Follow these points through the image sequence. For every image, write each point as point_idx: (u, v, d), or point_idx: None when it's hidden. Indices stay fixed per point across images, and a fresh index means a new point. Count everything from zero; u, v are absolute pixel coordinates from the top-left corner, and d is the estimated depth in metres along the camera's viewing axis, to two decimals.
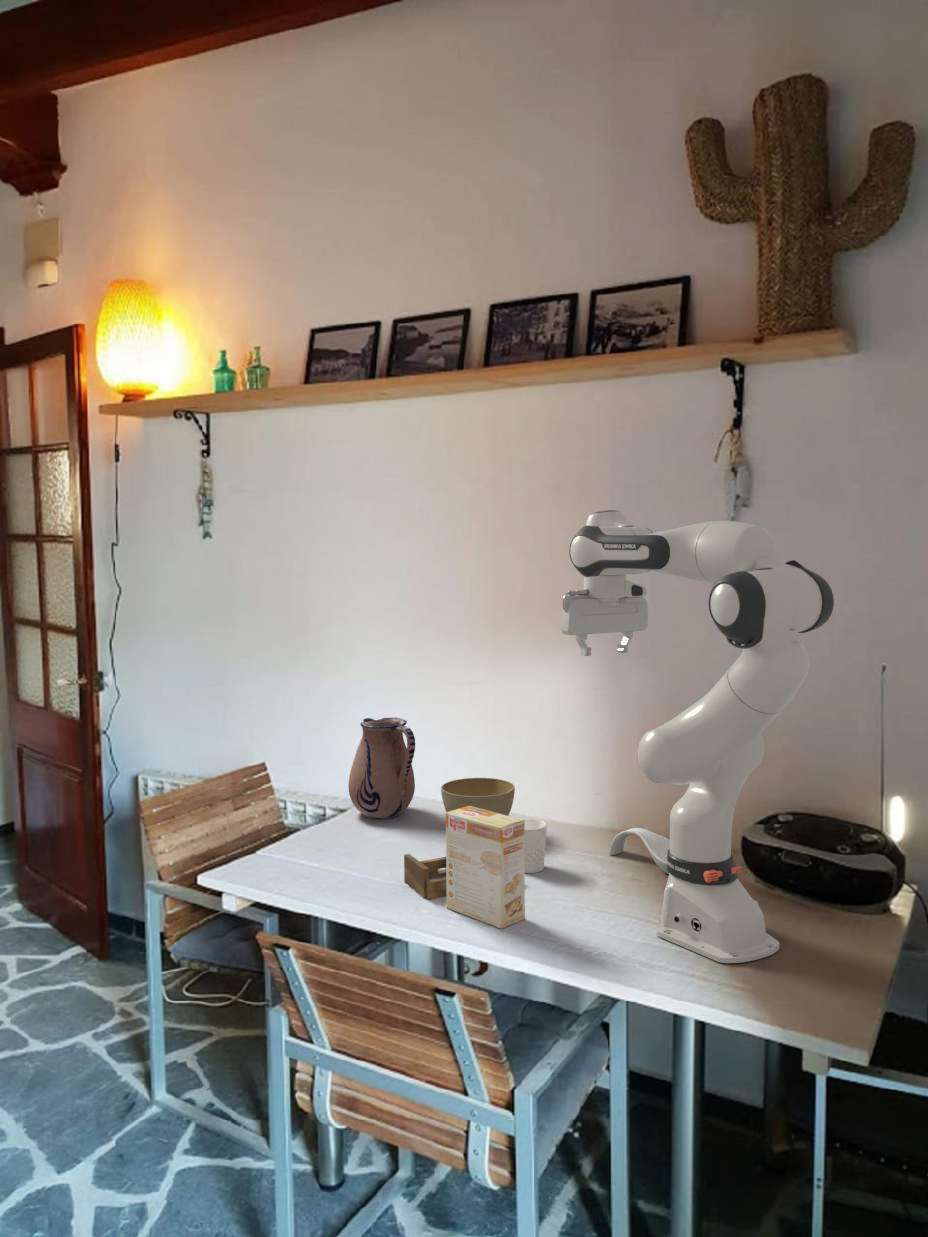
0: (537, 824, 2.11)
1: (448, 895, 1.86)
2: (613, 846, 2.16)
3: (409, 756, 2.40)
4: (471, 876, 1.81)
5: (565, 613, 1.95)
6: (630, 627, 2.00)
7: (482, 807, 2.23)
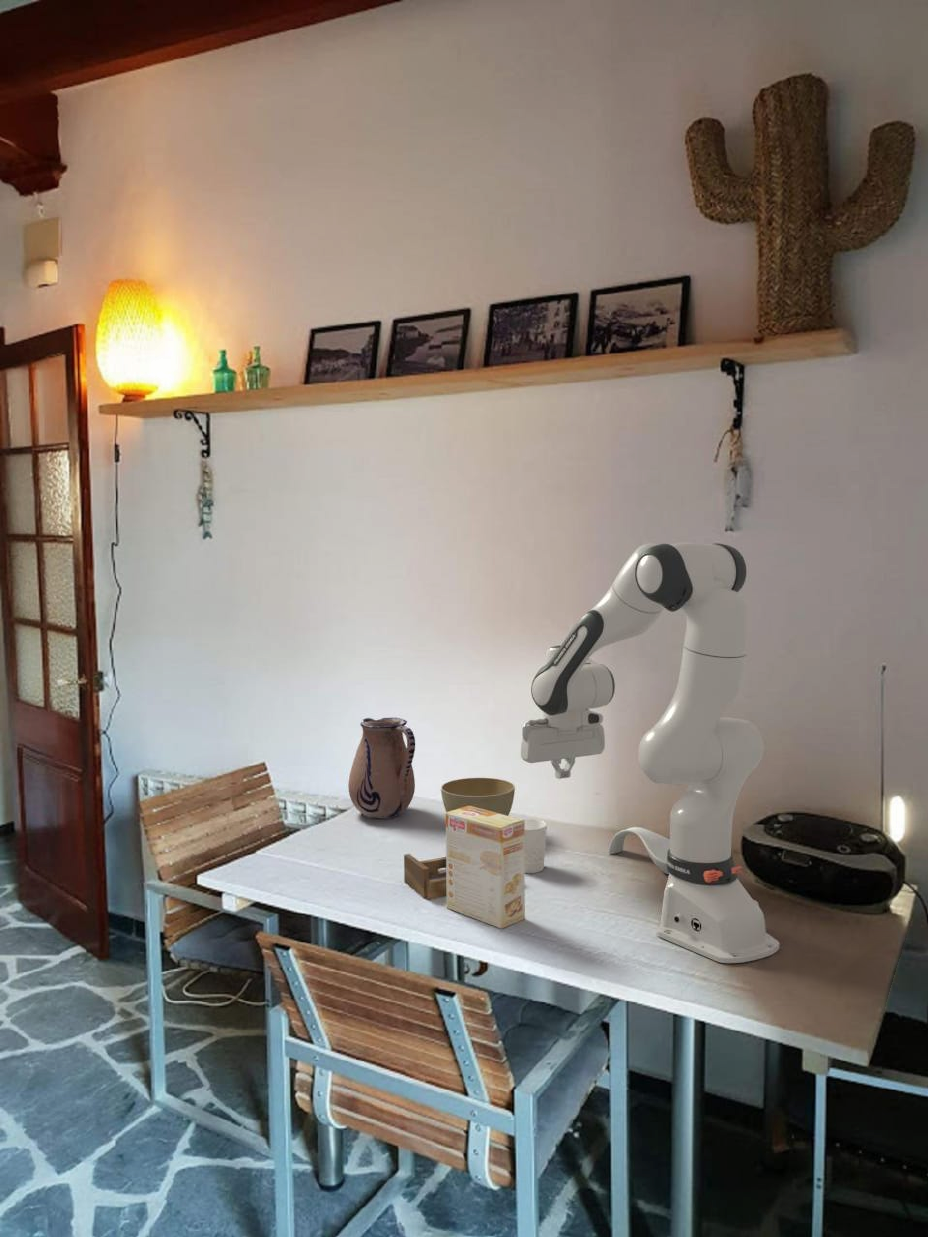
0: (537, 824, 2.11)
1: (448, 895, 1.86)
2: (612, 845, 2.17)
3: (409, 756, 2.40)
4: (471, 876, 1.81)
5: (525, 741, 2.06)
6: (587, 752, 2.11)
7: (482, 807, 2.23)
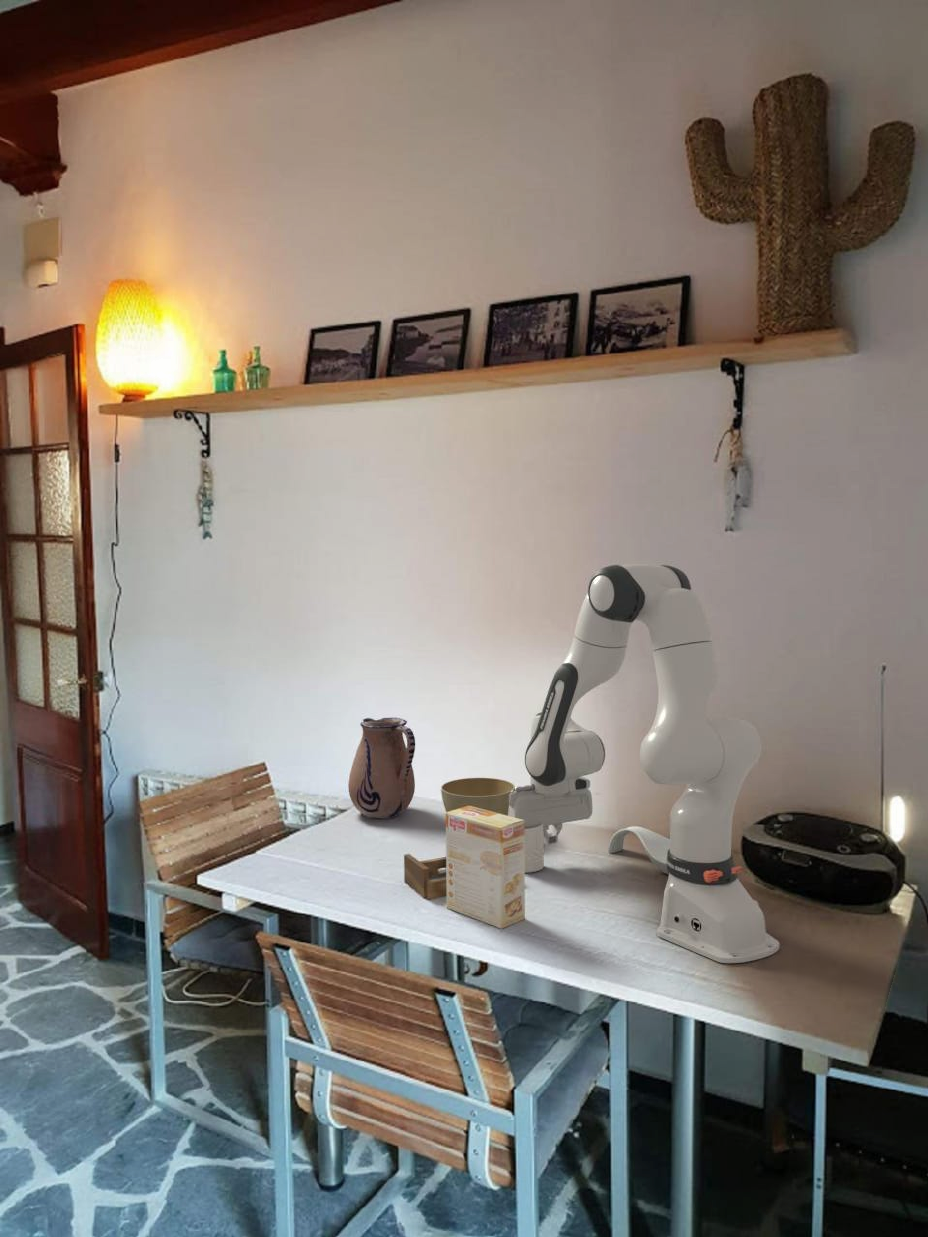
0: None
1: (448, 895, 1.86)
2: (612, 844, 2.17)
3: (409, 756, 2.40)
4: (471, 876, 1.81)
5: (511, 808, 2.06)
6: (575, 817, 2.11)
7: (482, 807, 2.23)
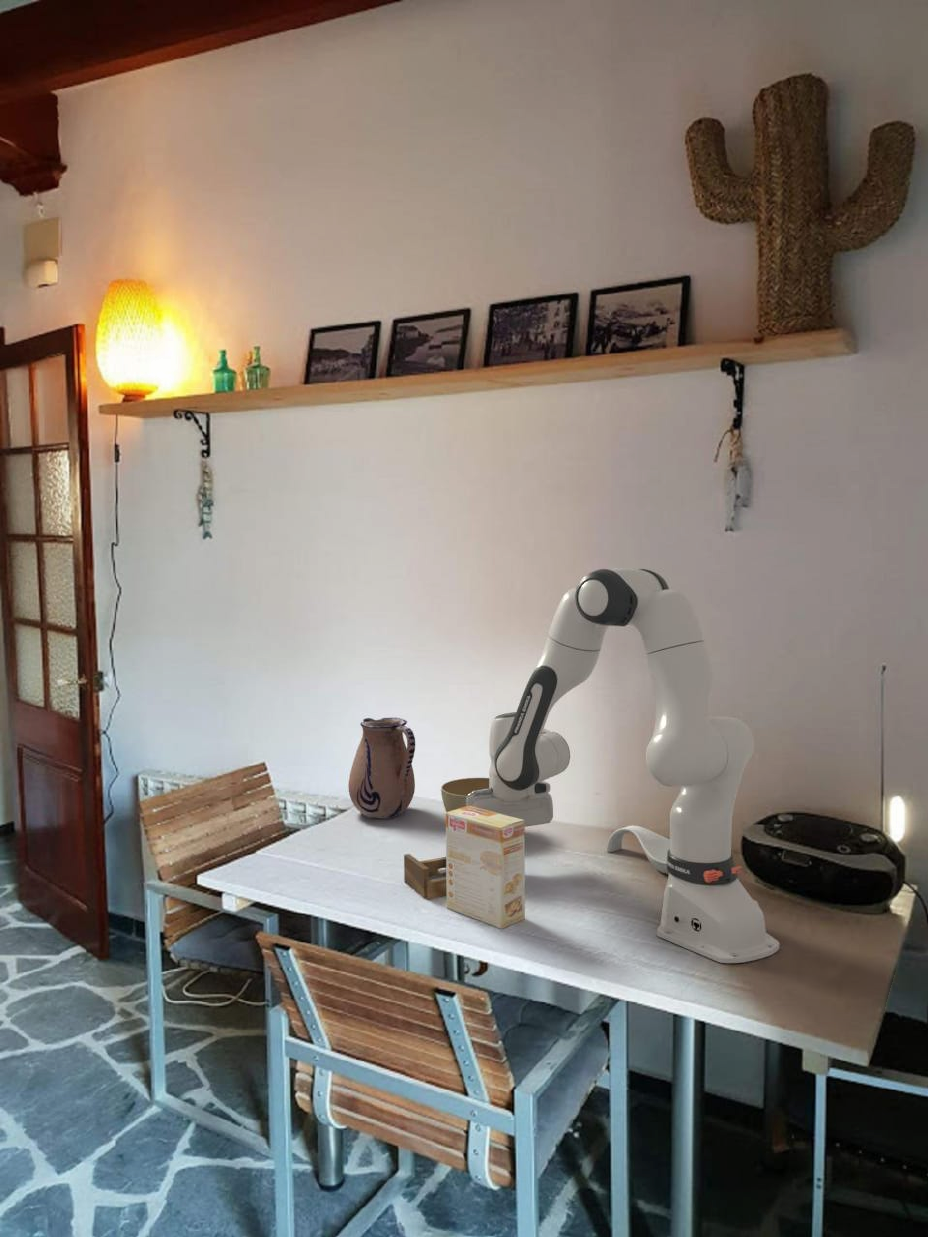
0: None
1: (448, 895, 1.86)
2: (610, 843, 2.18)
3: (409, 756, 2.40)
4: (471, 876, 1.81)
5: None
6: (534, 822, 2.07)
7: None
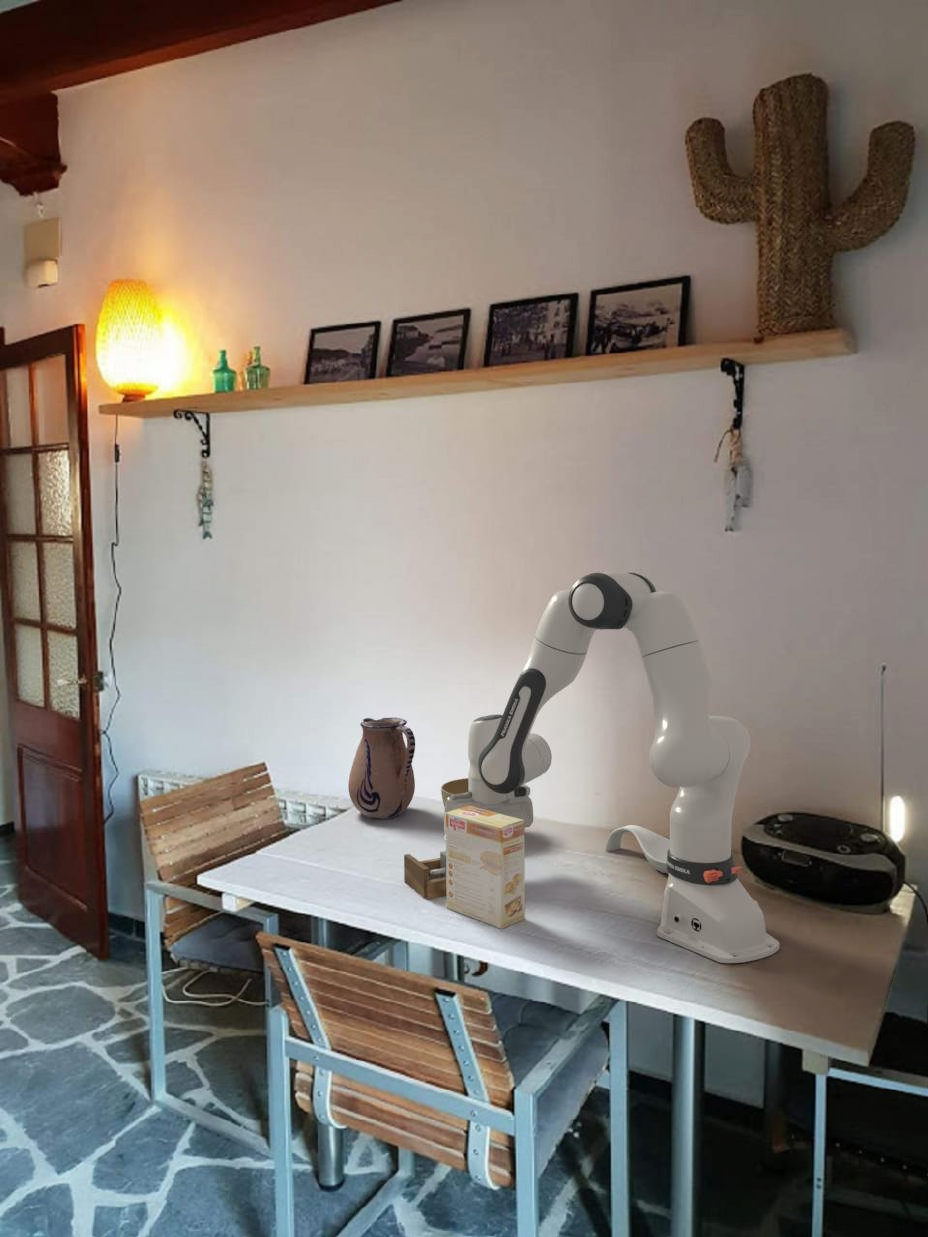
0: None
1: (448, 895, 1.86)
2: (609, 842, 2.18)
3: (409, 756, 2.40)
4: (471, 876, 1.81)
5: None
6: None
7: None
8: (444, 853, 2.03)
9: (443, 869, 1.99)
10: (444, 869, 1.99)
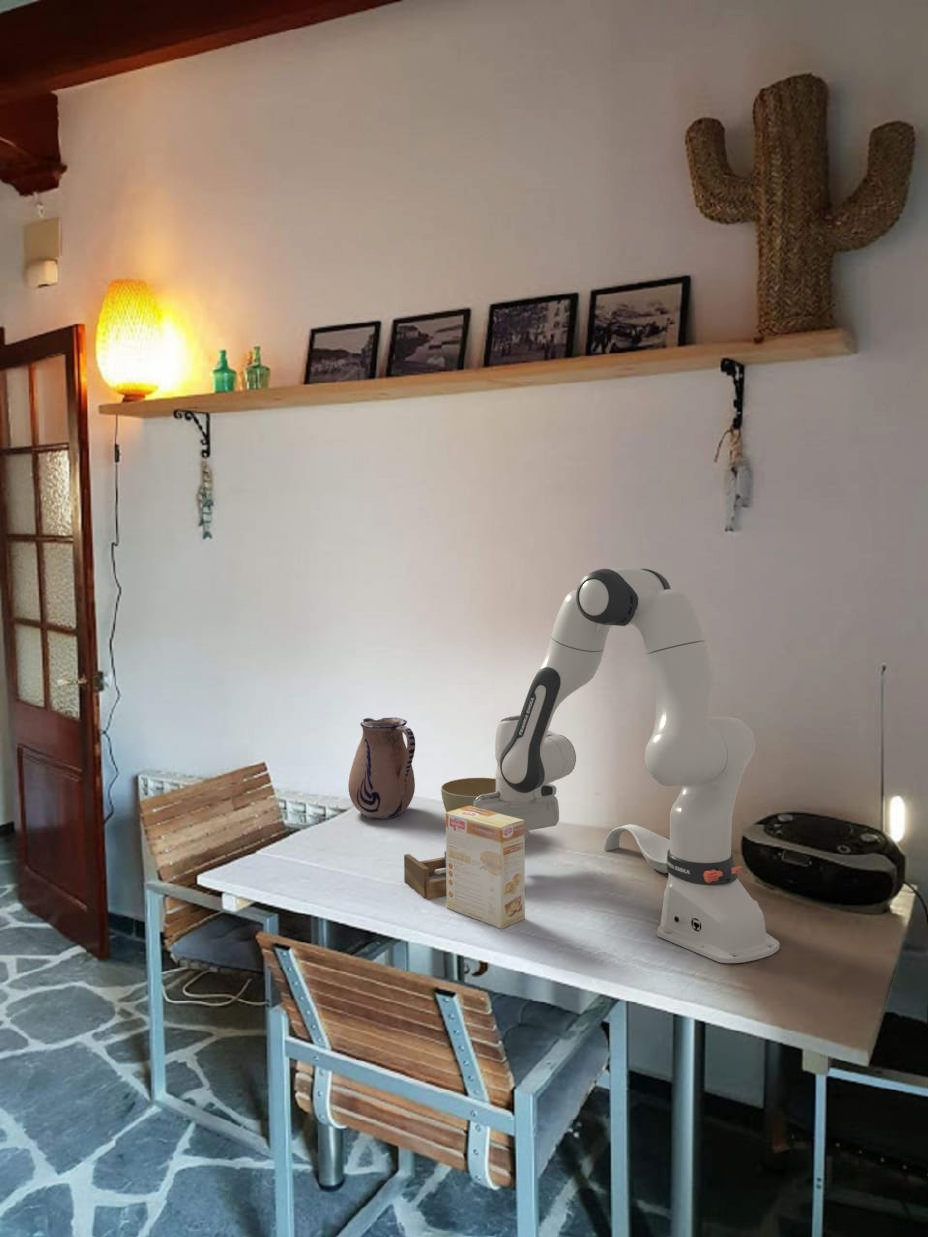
0: None
1: (448, 895, 1.86)
2: (608, 842, 2.19)
3: (409, 756, 2.40)
4: (471, 876, 1.81)
5: None
6: (541, 824, 2.07)
7: None
8: None
9: None
10: None
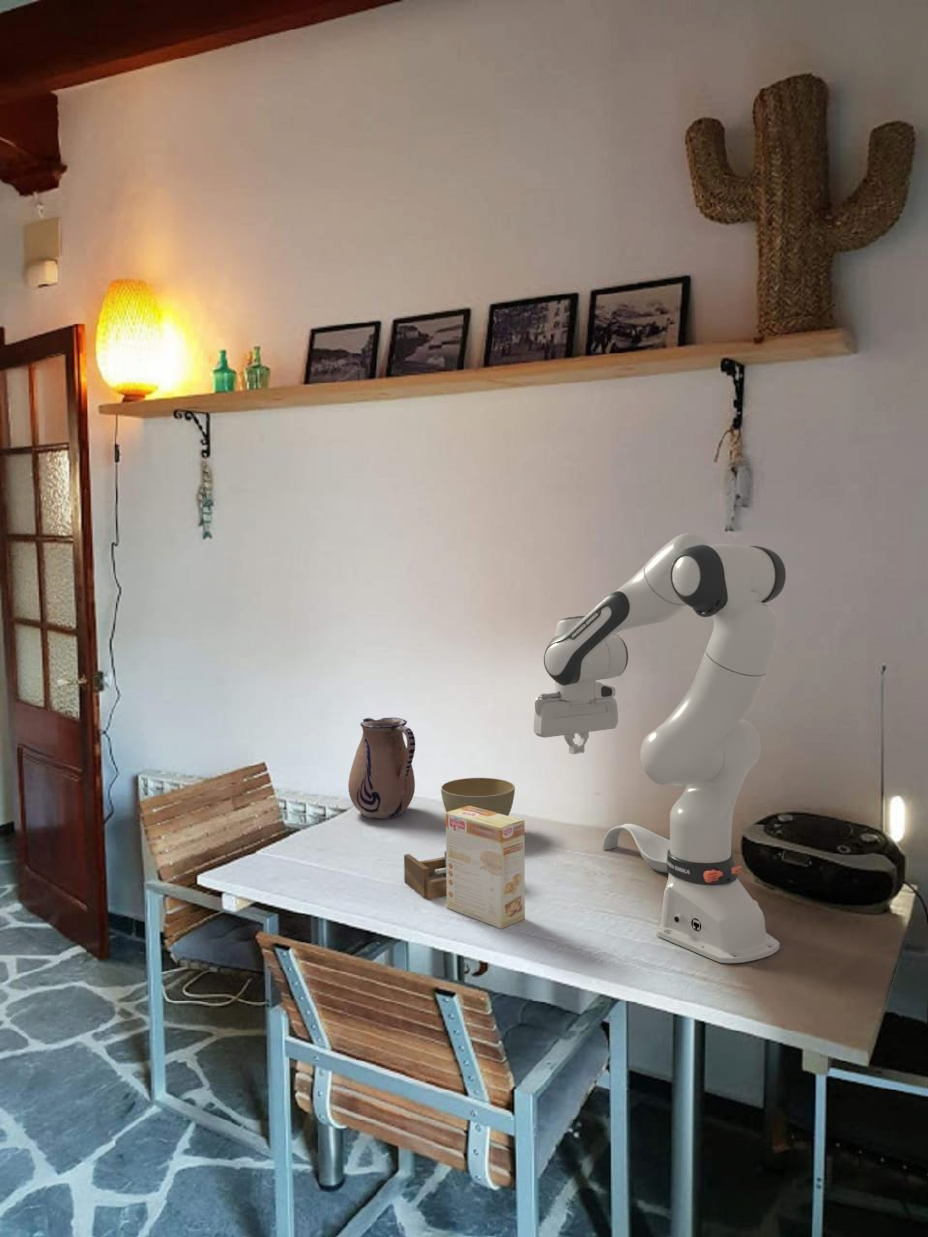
0: None
1: (448, 895, 1.86)
2: (606, 841, 2.19)
3: (409, 756, 2.40)
4: (471, 876, 1.81)
5: (538, 716, 2.02)
6: (601, 726, 2.07)
7: (482, 807, 2.23)
8: None
9: None
10: None
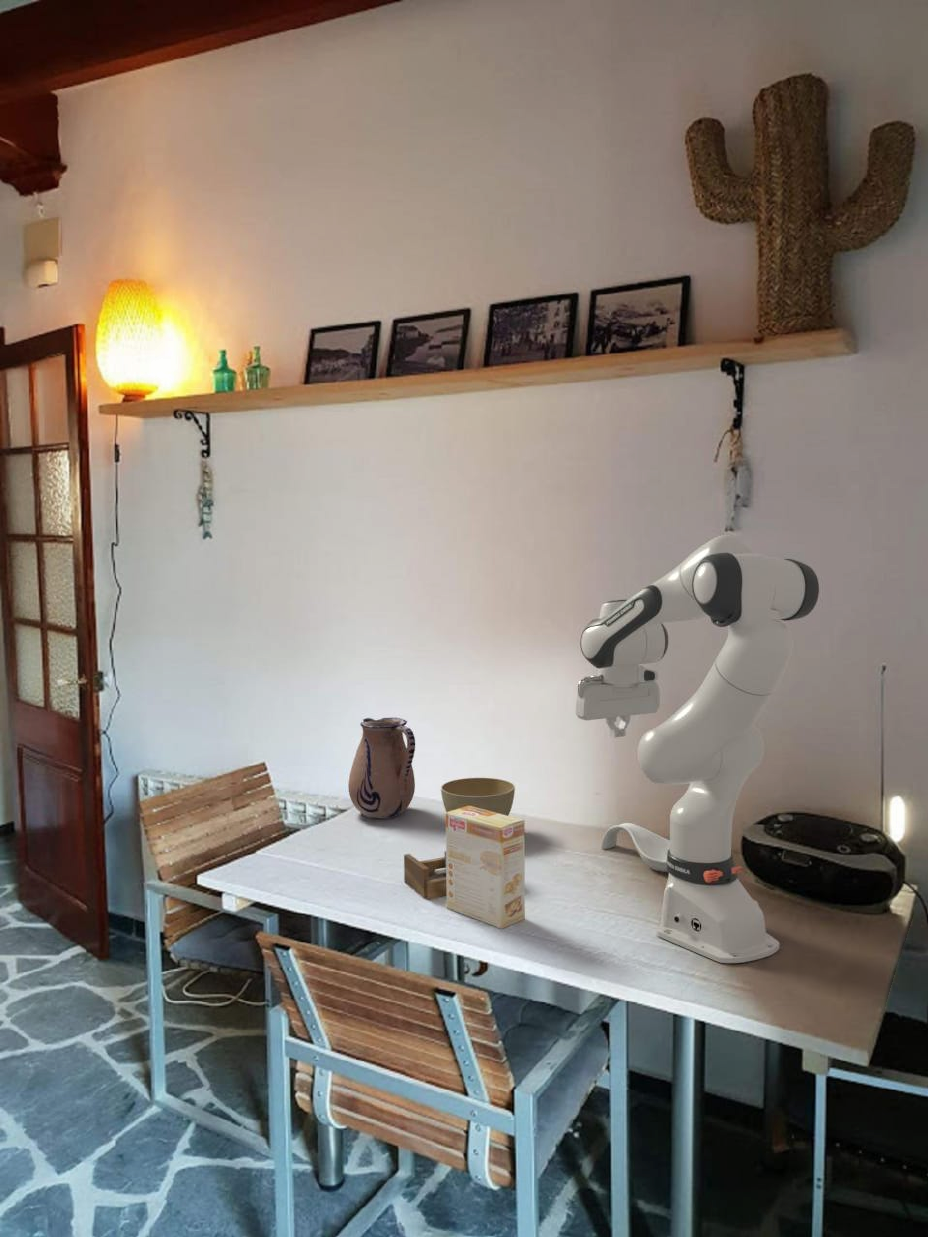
0: None
1: (448, 895, 1.86)
2: (605, 840, 2.20)
3: (409, 756, 2.40)
4: (471, 876, 1.81)
5: (580, 698, 2.02)
6: (642, 710, 2.07)
7: (482, 807, 2.23)
8: None
9: None
10: None
